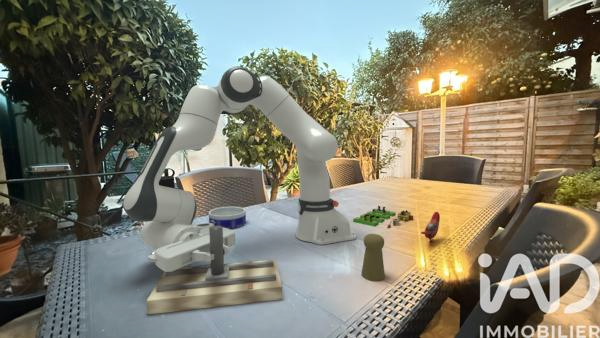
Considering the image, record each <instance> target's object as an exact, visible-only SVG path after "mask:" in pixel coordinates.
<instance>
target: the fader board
mask: <svg viewBox="0 0 600 338" xmlns="http://www.w3.org/2000/svg"><path fill="white" fill-rule="evenodd" d="M224 267H229V276H228V279H220V280H210V281H205V277H206V274H207V271H208V268H211V264H209V265H198V266H197V265H196V266H184V267H181V268H179V269H177V270H175V271H172V272H165V271H163V274H162V275H161V277H160V278H159V279H158V282H157V283H156V285H155V286H154V288H153V290H152V291H151V293H150V295H149V296H148V297H147V299H146V301H145V303H146V315H157V314H164V313H174V312H182V311H189V310H190V311H191V310H200V309H207V308H216V307H217V306H218V307H226V306H234V305H242V304H252V303H260V302H268V301H269V302H270V301H279V300H283V286H282V281H281V277H280V273H279V269H278V264H277V260H276V259H268V260H257V261H244V262H232V263H231V262H230V263H224ZM218 307H217V308H218Z"/></svg>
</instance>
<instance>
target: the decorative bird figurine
mask: <svg viewBox="0 0 600 338" xmlns="http://www.w3.org/2000/svg"><path fill="white" fill-rule="evenodd" d="M440 218H441V216H440V213H439V212H438V211H435V212H434V213H433V214H432V216H431V218H430V220H429V222H428V223H427V225H426V227H425V229H424V230H423V231H421V232H420V233H421V234H423V235H424V237H425V238H427V239H428V240H429V242H428V243H429V244H431V243H432V241H433V242H434V240H435V239H434V238H435V237H436V236H437V234H438V231H439V227H440V220H441V219H440ZM430 242H431V243H430Z"/></svg>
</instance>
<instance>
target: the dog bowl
mask: <svg viewBox="0 0 600 338" xmlns="http://www.w3.org/2000/svg"><path fill="white" fill-rule="evenodd" d="M246 212H247V209H245V208H244V207H241V206H223V207H222V206H220V207H216V208H213V209H211V210H209V211H208V223H212V224H213V225H214V226H222V227H223V228H227V229H230V230H235V229H239V228H241V227H244V226H245V225H246V221H247V220H246V219H247V215H246V214H247V213H246Z"/></svg>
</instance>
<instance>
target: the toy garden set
mask: <svg viewBox="0 0 600 338" xmlns="http://www.w3.org/2000/svg"><path fill="white" fill-rule="evenodd" d="M395 216H396V212H395V211H390V210H386V206H382V209H381V206H380V205H378V206H377V208H372V211H368V212H365V213H363V214H361V215H360V216H356V217H354V218H353V219H352V222H353V223H356V224H361V225H365V226H370V227H376V226H379V224H382V223H384V222H385V221H386V220H389V219H391V217H395ZM401 220H402V221H406V222H408V221H413V220H414V215H413V214H412V211H408V210H407V209H406V210H402V211H401V212H399V213H397V218H393V219H392V220H391V221H390V222H389V223H388V224H387V227H386V228H387V229H388V228H390V227H391V225H392V226H395V227H396V226H397V227H398V226H400V222H401Z"/></svg>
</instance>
